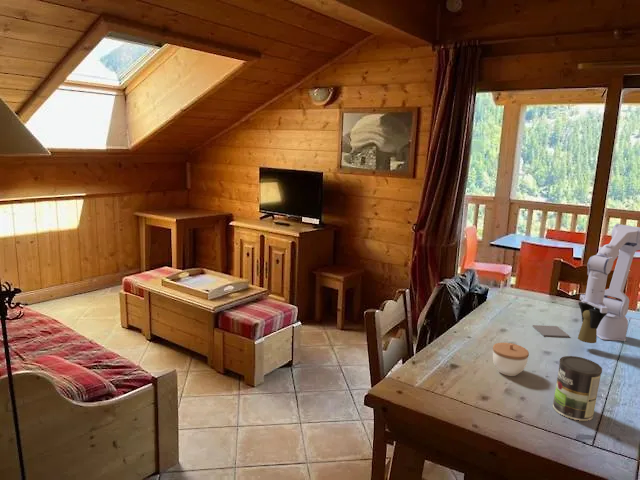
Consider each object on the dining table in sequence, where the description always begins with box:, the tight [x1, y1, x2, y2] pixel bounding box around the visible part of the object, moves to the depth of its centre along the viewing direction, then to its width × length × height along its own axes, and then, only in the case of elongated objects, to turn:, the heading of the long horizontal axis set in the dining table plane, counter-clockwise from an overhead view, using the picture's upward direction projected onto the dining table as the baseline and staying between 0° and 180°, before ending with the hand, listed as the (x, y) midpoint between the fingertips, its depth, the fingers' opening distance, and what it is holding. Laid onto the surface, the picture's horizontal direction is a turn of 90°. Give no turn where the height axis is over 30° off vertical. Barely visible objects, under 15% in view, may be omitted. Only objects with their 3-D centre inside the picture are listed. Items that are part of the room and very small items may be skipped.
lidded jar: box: [492, 342, 530, 377], centre depth 153 cm, size 11×11×9 cm
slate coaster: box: [532, 324, 571, 339], centre depth 189 cm, size 10×10×1 cm
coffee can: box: [552, 355, 603, 422], centre depth 131 cm, size 10×10×14 cm
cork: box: [577, 310, 598, 344], centre depth 173 cm, size 6×6×11 cm
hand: (589, 325), depth 173 cm, fingers closed on cork, 5 cm apart
